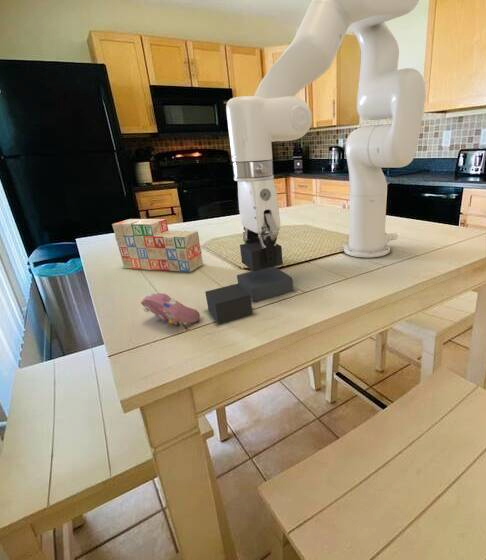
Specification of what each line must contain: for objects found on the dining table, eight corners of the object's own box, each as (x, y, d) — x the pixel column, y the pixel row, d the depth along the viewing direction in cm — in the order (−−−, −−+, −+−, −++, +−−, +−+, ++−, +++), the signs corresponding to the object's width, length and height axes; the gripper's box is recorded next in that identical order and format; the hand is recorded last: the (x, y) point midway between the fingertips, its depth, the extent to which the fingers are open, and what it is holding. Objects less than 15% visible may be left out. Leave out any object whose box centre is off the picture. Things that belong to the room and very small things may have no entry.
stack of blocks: (204, 264, 90) (196, 219, 85) (190, 273, 84) (181, 224, 80) (139, 260, 96) (129, 218, 92) (123, 268, 91) (111, 223, 86)
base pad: (274, 278, 78) (273, 266, 77) (293, 290, 71) (292, 277, 70) (238, 287, 74) (236, 274, 73) (254, 301, 67) (252, 288, 66)
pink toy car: (154, 323, 64) (130, 300, 59) (170, 305, 66) (148, 281, 61) (188, 337, 59) (165, 312, 54) (204, 316, 61) (183, 291, 56)
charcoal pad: (269, 256, 74) (268, 239, 73) (282, 264, 69) (281, 245, 67) (241, 262, 71) (239, 244, 70) (253, 271, 66) (251, 251, 64)
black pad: (240, 301, 67) (237, 283, 66) (252, 314, 62) (250, 294, 60) (208, 310, 64) (205, 291, 63) (218, 324, 59) (215, 304, 58)
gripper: (292, 171, 58) (297, 269, 64) (254, 168, 72) (261, 248, 79) (252, 175, 54) (262, 277, 61) (220, 171, 69) (230, 254, 75)
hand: (261, 260), depth 70 cm, fingers closed on charcoal pad, 6 cm apart
